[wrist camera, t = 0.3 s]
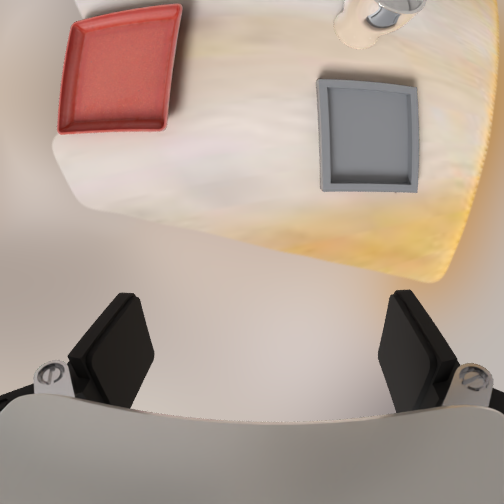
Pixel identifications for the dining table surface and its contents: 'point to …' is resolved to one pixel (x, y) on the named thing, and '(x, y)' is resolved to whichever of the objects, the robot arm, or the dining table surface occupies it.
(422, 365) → the robot arm
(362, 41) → the beer glass
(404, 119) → the serving tray
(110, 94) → the plant saucer
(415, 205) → the dining table surface
